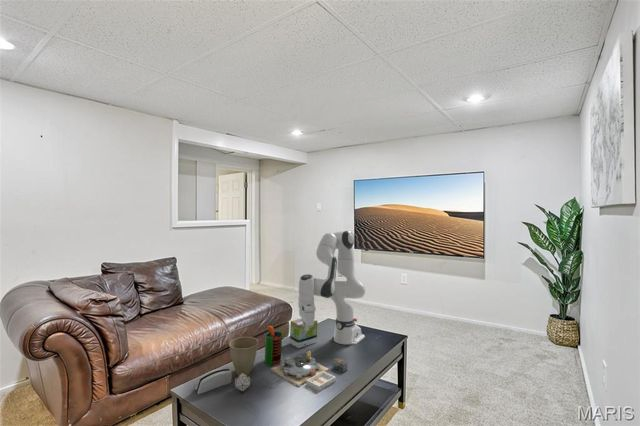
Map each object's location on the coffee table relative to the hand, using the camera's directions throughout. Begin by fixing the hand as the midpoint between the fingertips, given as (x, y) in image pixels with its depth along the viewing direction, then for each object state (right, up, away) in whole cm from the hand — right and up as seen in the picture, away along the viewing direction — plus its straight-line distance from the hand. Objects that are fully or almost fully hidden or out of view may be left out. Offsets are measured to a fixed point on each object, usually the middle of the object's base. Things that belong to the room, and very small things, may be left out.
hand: (305, 328), depth 186 cm
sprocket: (-3, -18, -9) cm, 21 cm away
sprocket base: (-3, -19, -9) cm, 22 cm away
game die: (-29, -20, -29) cm, 45 cm away
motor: (-19, -19, 0) cm, 27 cm away
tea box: (-3, -19, +26) cm, 32 cm away
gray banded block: (+19, -20, -7) cm, 28 cm away
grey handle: (-43, -20, -26) cm, 54 cm away
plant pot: (-32, -19, -12) cm, 40 cm away
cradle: (+9, -20, -21) cm, 30 cm away
